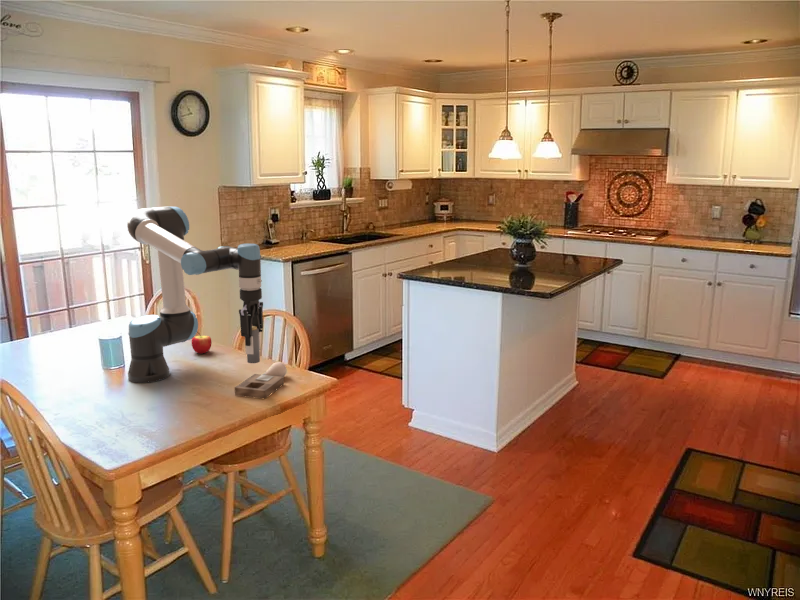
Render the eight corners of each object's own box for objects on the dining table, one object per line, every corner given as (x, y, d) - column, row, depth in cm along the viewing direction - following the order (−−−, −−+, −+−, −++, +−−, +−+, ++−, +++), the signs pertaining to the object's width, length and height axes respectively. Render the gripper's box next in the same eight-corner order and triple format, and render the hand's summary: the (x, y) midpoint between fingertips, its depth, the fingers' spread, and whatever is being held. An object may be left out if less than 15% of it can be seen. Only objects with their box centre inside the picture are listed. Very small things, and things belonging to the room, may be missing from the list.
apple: (188, 353, 278) (186, 330, 276) (205, 348, 284) (204, 327, 282) (198, 357, 273) (196, 334, 270) (215, 352, 279) (214, 330, 276)
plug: (245, 362, 229) (243, 328, 226) (251, 358, 233) (249, 325, 230) (256, 363, 228) (254, 329, 225) (262, 360, 232) (260, 326, 229)
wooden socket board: (235, 395, 231) (234, 386, 230) (255, 381, 245) (254, 373, 244) (265, 398, 228) (264, 390, 227) (283, 384, 242) (283, 376, 241)
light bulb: (260, 372, 241) (285, 359, 246) (254, 370, 246) (279, 358, 252) (266, 387, 242) (291, 375, 247) (260, 385, 248) (285, 373, 253)
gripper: (247, 294, 215) (250, 360, 220) (271, 284, 231) (273, 345, 237) (227, 292, 217) (231, 358, 222) (252, 282, 233) (255, 343, 239)
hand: (253, 351), depth 229 cm, fingers closed on plug, 4 cm apart
